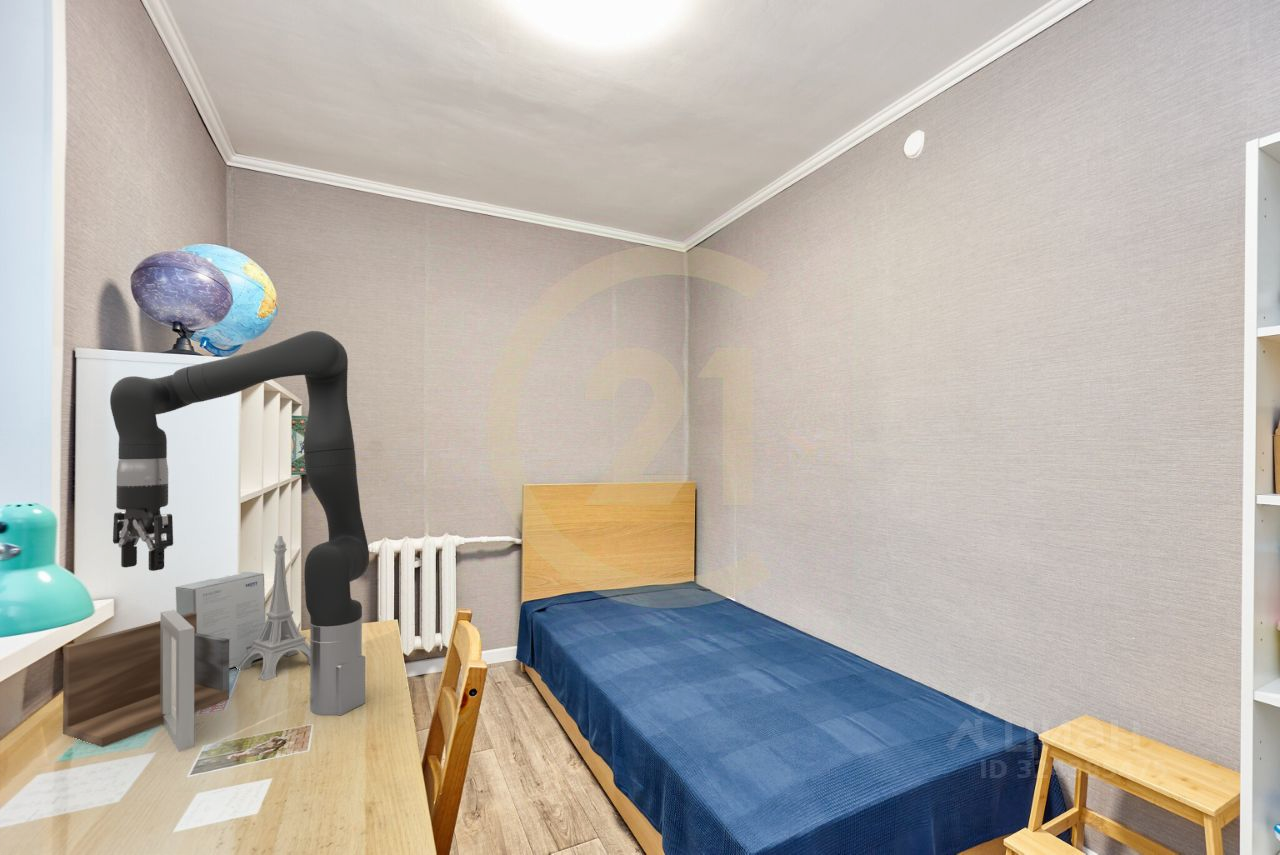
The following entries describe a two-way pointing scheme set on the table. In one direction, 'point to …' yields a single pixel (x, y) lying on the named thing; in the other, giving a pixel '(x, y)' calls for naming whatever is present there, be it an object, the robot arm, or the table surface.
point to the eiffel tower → (277, 625)
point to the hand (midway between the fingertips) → (142, 568)
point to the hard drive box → (227, 609)
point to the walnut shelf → (132, 682)
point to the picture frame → (177, 678)
